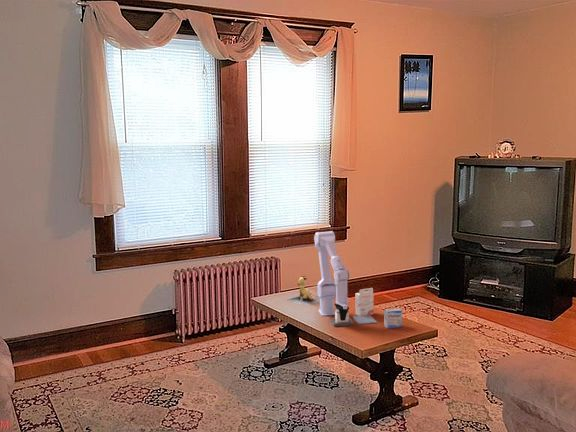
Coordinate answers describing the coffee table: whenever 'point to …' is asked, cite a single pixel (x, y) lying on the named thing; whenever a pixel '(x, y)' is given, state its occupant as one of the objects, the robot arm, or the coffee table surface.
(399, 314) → the medicine box
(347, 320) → the plug
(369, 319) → the slate board
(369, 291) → the ink cartridge box
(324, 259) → the robot arm
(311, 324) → the coffee table surface
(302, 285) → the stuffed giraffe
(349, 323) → the holder
